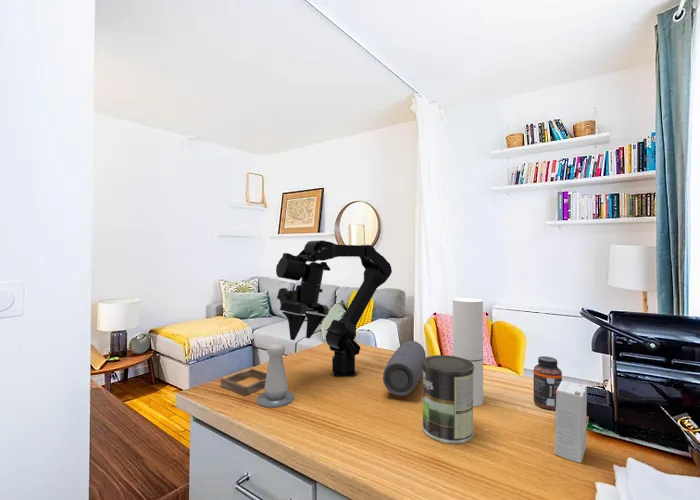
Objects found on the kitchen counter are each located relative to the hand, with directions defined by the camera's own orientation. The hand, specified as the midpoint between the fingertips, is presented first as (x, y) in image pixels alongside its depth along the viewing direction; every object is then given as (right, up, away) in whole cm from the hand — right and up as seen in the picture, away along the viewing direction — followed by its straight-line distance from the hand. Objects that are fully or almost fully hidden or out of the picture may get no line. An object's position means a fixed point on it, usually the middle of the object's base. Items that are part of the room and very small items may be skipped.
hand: (300, 339), depth 95 cm
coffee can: (+34, -13, -24) cm, 44 cm away
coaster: (-5, -13, -10) cm, 17 cm away
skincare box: (+55, -13, -32) cm, 65 cm away
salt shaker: (-5, -12, -9) cm, 16 cm away
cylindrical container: (+43, -13, -10) cm, 46 cm away
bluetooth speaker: (+30, -13, 0) cm, 32 cm away
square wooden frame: (-14, -13, 0) cm, 19 cm away
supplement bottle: (+61, -13, -13) cm, 64 cm away
